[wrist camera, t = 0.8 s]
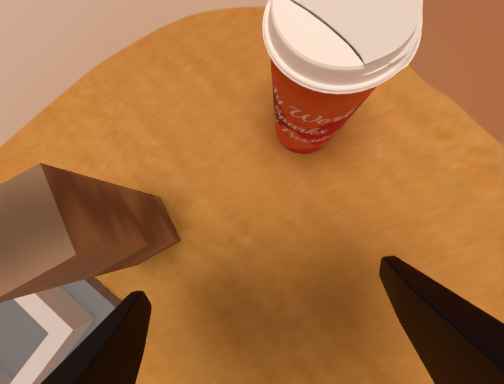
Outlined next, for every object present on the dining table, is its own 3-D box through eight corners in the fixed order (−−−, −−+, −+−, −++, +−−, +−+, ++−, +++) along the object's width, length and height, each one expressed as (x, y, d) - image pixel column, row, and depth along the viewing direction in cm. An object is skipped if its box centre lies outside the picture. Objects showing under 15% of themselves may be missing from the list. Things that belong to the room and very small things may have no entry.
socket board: (145, 323, 23) (122, 341, 19) (49, 454, 22) (5, 499, 18) (21, 212, 25) (-21, 210, 22) (-71, 324, 24) (-131, 341, 21)
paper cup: (252, 141, 25) (230, 32, 11) (289, 81, 25) (312, -94, 12) (320, 178, 24) (391, 108, 10) (356, 114, 24) (470, -36, 11)
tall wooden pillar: (180, 240, 24) (76, 254, 11) (136, 264, 24) (-21, 308, 11) (159, 197, 25) (39, 162, 12) (117, 220, 25) (-50, 212, 12)
